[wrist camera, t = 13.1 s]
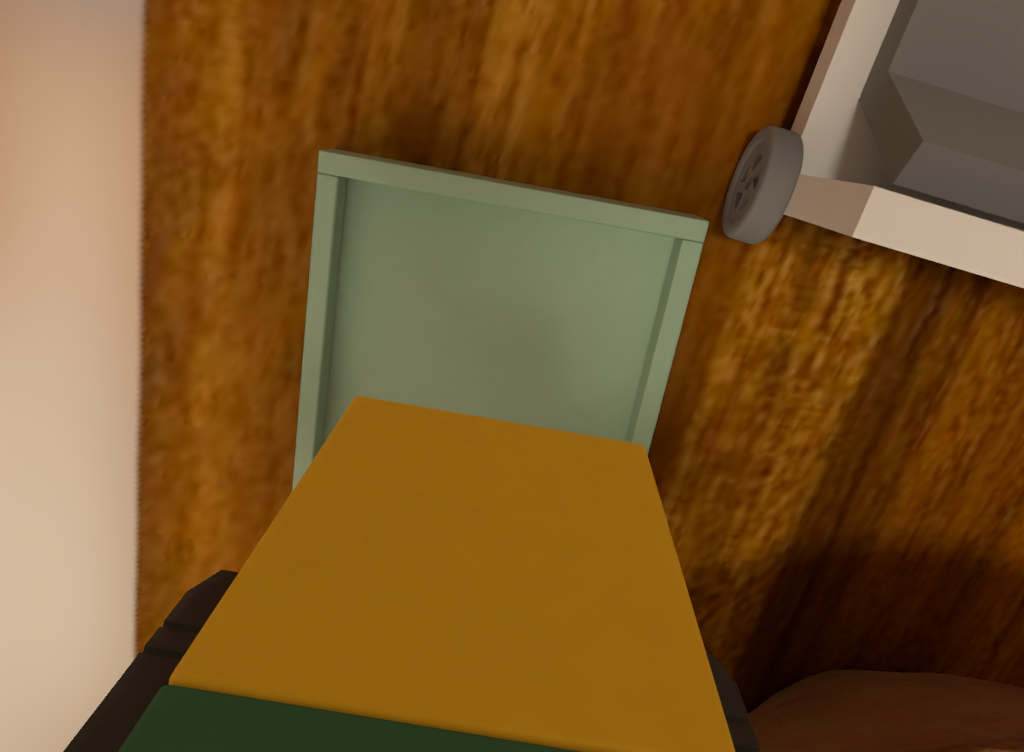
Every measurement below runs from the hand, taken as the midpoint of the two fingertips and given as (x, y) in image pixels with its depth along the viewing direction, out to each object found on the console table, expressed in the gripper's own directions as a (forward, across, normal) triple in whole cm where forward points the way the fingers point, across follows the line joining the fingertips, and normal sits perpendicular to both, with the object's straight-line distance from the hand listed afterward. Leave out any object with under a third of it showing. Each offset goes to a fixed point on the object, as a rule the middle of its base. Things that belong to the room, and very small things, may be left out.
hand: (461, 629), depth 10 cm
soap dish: (+13, 0, +1) cm, 13 cm away
